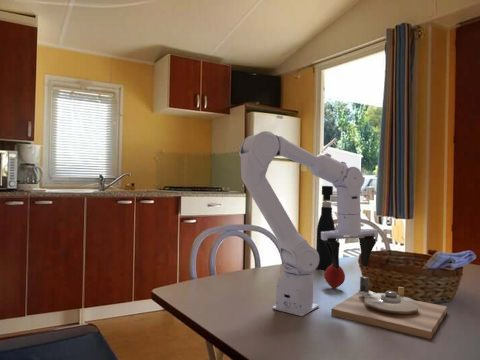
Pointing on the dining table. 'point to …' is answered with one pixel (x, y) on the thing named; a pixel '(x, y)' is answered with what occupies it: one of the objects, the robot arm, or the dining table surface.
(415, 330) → the base board
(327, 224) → the wine bottle
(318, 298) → the dining table surface
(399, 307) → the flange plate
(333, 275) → the red oval fruit
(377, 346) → the dining table surface
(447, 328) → the dining table surface
